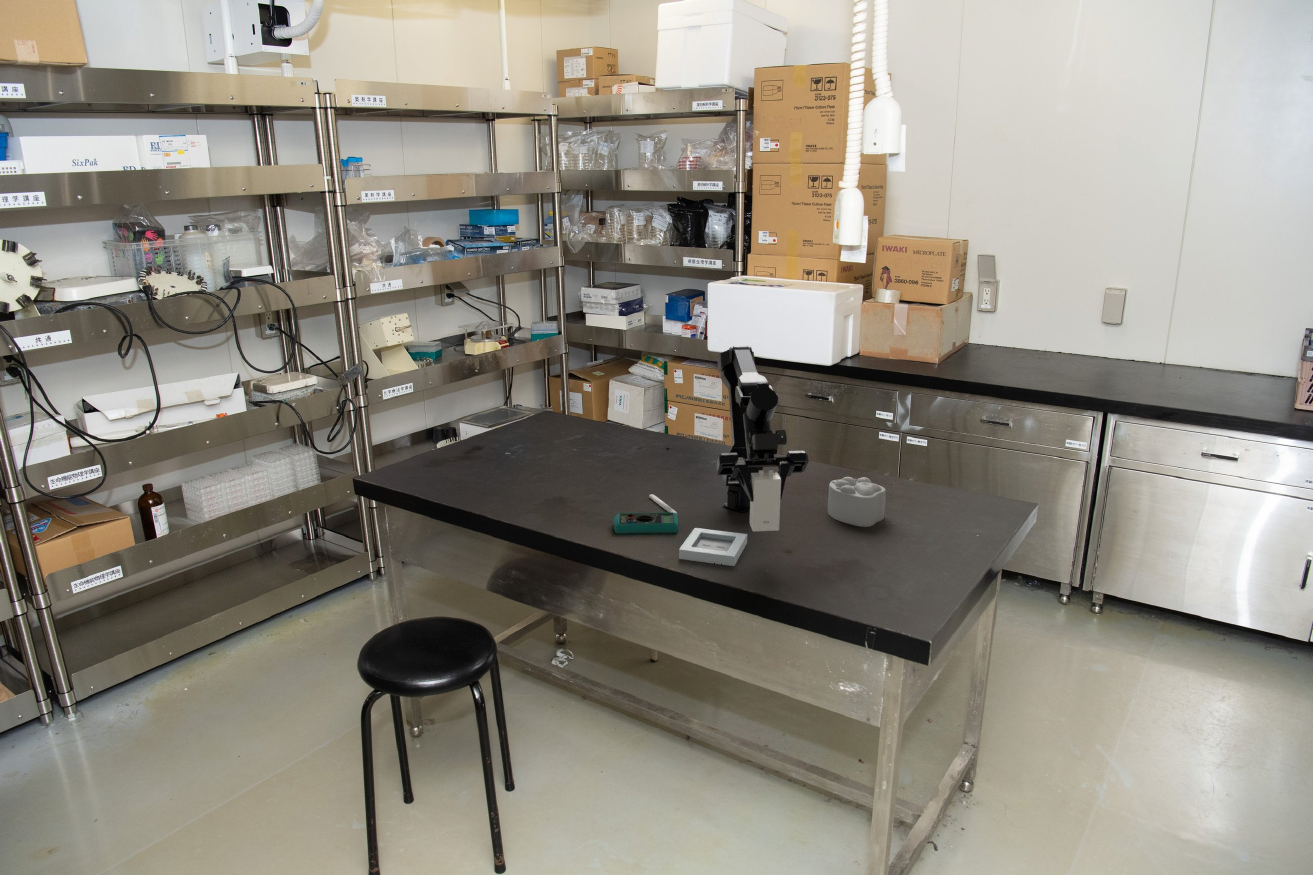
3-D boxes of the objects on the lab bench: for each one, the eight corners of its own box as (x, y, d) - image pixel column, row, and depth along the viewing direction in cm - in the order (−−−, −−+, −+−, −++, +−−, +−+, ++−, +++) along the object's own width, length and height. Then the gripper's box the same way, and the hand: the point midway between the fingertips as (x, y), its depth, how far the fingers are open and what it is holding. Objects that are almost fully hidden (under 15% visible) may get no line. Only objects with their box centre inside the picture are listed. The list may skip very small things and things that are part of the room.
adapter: (749, 523, 184) (751, 467, 180) (775, 522, 184) (777, 466, 180) (752, 531, 180) (754, 474, 176) (779, 530, 180) (781, 473, 176)
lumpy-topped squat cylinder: (865, 529, 198) (868, 493, 195) (817, 514, 207) (819, 480, 204) (888, 516, 205) (891, 482, 203) (841, 502, 214) (843, 469, 211)
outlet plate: (694, 536, 195) (694, 527, 194) (747, 543, 191) (747, 534, 190) (679, 558, 184) (679, 549, 183) (734, 566, 180) (734, 556, 179)
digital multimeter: (614, 523, 204) (614, 511, 203) (677, 522, 204) (677, 510, 203) (613, 535, 197) (613, 523, 196) (678, 534, 197) (678, 522, 196)
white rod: (649, 498, 218) (648, 493, 218) (653, 497, 218) (653, 493, 218) (672, 516, 206) (672, 512, 206) (677, 515, 207) (677, 511, 206)
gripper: (719, 416, 178) (725, 486, 171) (808, 414, 179) (819, 483, 172) (713, 440, 188) (719, 507, 181) (798, 438, 189) (807, 504, 182)
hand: (766, 500), depth 178 cm, fingers closed on adapter, 5 cm apart
